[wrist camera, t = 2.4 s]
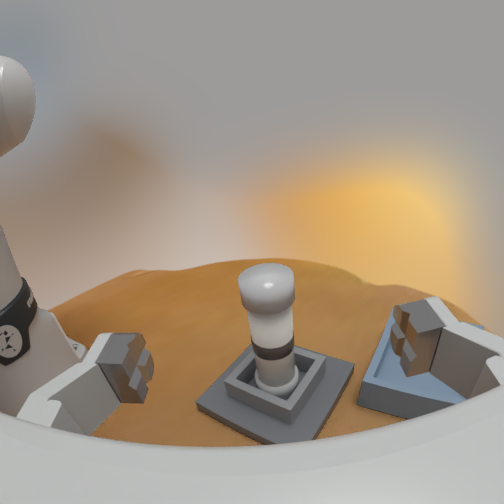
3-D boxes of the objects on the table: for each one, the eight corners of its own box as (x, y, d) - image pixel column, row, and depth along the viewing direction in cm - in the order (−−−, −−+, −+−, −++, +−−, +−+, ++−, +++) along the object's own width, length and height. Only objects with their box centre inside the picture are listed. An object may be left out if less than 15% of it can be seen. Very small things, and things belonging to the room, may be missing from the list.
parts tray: (357, 404, 27) (362, 380, 25) (388, 332, 35) (393, 307, 34) (463, 431, 20) (479, 408, 19) (473, 351, 29) (483, 326, 27)
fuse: (248, 391, 29) (226, 284, 23) (271, 365, 32) (257, 259, 26) (285, 407, 26) (275, 298, 21) (305, 378, 29) (303, 268, 24)
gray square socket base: (198, 409, 29) (189, 386, 27) (261, 342, 37) (258, 317, 36) (301, 461, 22) (301, 442, 20) (353, 372, 31) (356, 347, 29)
